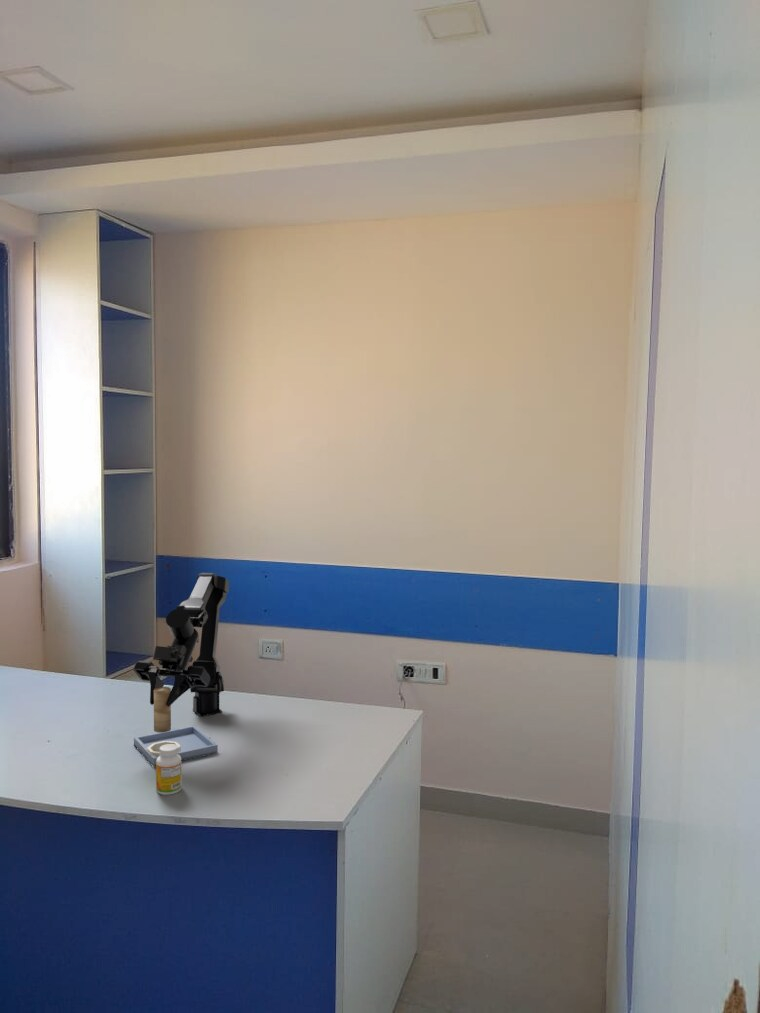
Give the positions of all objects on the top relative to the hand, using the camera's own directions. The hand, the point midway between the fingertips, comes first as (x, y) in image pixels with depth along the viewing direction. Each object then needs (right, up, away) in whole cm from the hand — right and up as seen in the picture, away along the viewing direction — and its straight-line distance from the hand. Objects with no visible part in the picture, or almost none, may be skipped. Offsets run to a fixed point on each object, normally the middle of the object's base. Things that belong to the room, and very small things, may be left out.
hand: (159, 704), depth 184 cm
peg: (0, -6, +2) cm, 7 cm away
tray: (+2, -13, +7) cm, 15 cm away
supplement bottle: (+7, -15, -16) cm, 23 cm away
